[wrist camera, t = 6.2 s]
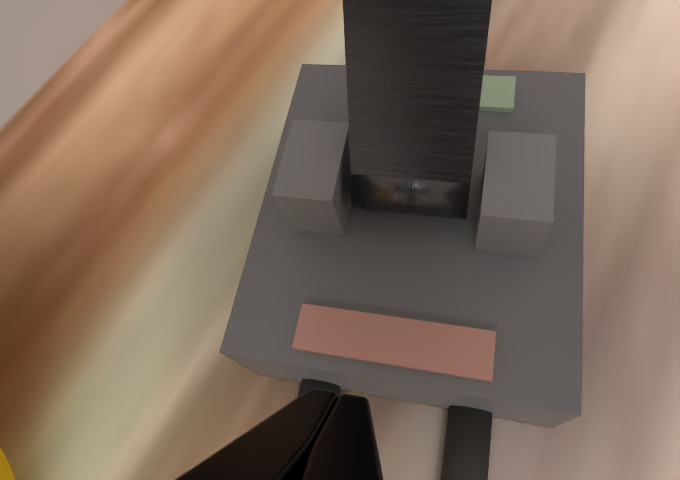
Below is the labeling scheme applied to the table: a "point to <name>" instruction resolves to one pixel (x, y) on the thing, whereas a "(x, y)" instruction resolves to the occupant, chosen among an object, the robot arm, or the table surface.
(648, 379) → the table surface
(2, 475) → the tape roll
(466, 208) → the breaker lever
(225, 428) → the table surface
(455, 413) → the pair of plug prongs
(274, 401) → the table surface
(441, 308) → the box
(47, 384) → the table surface
